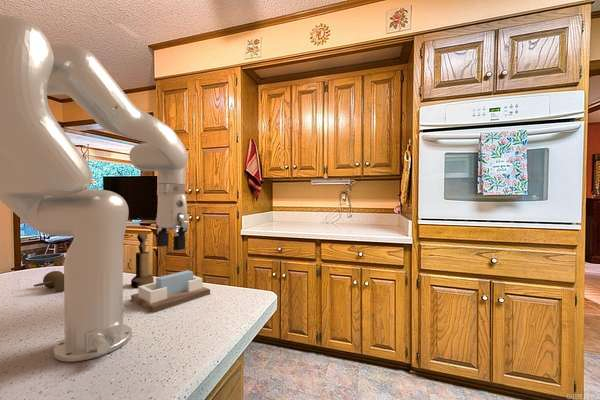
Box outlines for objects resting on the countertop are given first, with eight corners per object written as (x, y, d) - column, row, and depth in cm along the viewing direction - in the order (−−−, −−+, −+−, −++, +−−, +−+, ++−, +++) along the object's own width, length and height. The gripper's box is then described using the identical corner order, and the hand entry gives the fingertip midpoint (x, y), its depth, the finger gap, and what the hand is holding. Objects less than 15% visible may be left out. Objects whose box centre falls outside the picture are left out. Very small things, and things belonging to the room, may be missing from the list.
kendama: (112, 281, 97) (40, 298, 80) (98, 278, 102) (26, 293, 84) (113, 264, 97) (40, 277, 80) (98, 262, 102) (27, 274, 84)
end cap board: (210, 294, 83) (210, 289, 83) (153, 312, 69) (153, 307, 69) (186, 285, 91) (186, 280, 91) (131, 300, 78) (131, 295, 78)
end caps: (202, 287, 84) (202, 278, 84) (150, 303, 72) (150, 292, 72) (189, 283, 89) (189, 274, 89) (138, 296, 77) (138, 286, 76)
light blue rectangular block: (193, 287, 85) (193, 271, 85) (161, 296, 77) (161, 279, 76) (187, 285, 86) (187, 270, 86) (156, 294, 78) (156, 277, 78)
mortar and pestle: (147, 280, 96) (147, 230, 96) (157, 284, 92) (157, 232, 92) (127, 285, 91) (127, 232, 90) (136, 289, 87) (136, 234, 87)
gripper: (199, 190, 78) (198, 249, 77) (169, 191, 88) (168, 243, 88) (173, 189, 72) (173, 253, 72) (145, 190, 82) (144, 246, 82)
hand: (170, 247), depth 80 cm, fingers open, 9 cm apart
